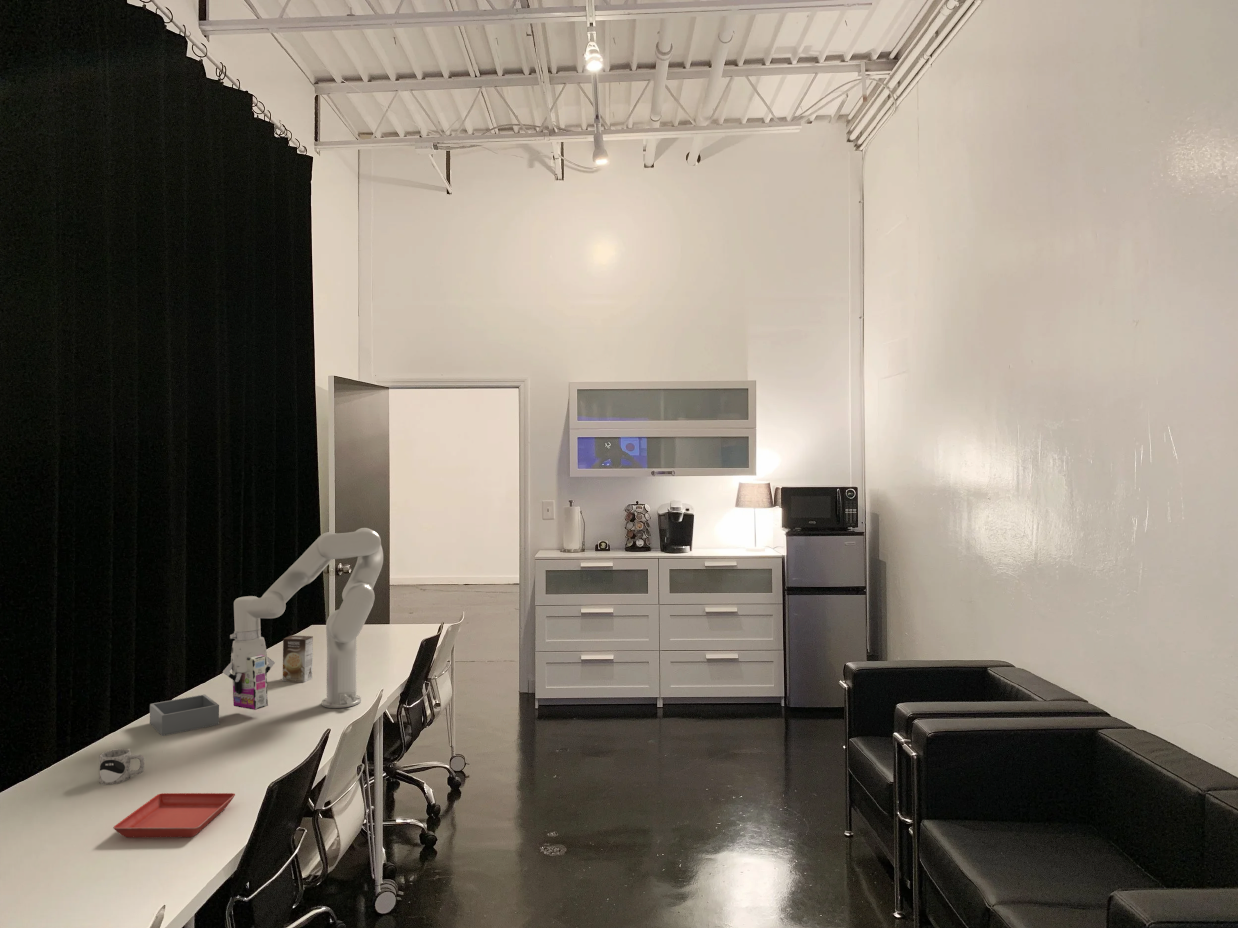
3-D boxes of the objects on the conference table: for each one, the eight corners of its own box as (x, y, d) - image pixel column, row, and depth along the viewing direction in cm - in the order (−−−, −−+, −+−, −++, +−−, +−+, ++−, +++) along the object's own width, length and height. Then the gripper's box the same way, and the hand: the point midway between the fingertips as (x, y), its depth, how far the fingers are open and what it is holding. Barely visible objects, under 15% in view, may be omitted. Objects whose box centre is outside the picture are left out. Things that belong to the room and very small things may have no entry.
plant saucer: (236, 805, 183) (236, 791, 183) (197, 842, 165) (197, 826, 165) (159, 806, 182) (159, 792, 182) (110, 843, 164) (111, 827, 164)
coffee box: (281, 681, 289) (281, 638, 289) (290, 677, 295) (290, 634, 295) (304, 682, 288) (305, 639, 288) (313, 677, 294) (313, 635, 294)
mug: (94, 785, 193) (95, 759, 193) (104, 775, 200) (105, 749, 200) (140, 781, 196) (140, 755, 196) (148, 771, 202) (148, 746, 202)
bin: (218, 724, 240) (219, 704, 240) (161, 735, 229) (162, 715, 230) (204, 712, 252) (204, 694, 252) (149, 723, 241) (149, 703, 241)
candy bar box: (269, 705, 249) (266, 655, 249) (255, 710, 245) (253, 659, 245) (246, 701, 255) (244, 652, 254) (232, 706, 250) (230, 655, 250)
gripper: (222, 641, 241) (224, 699, 241) (279, 632, 253) (281, 686, 253) (215, 638, 246) (217, 694, 247) (271, 628, 258) (273, 682, 258)
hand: (250, 690), depth 250 cm, fingers closed on candy bar box, 6 cm apart
